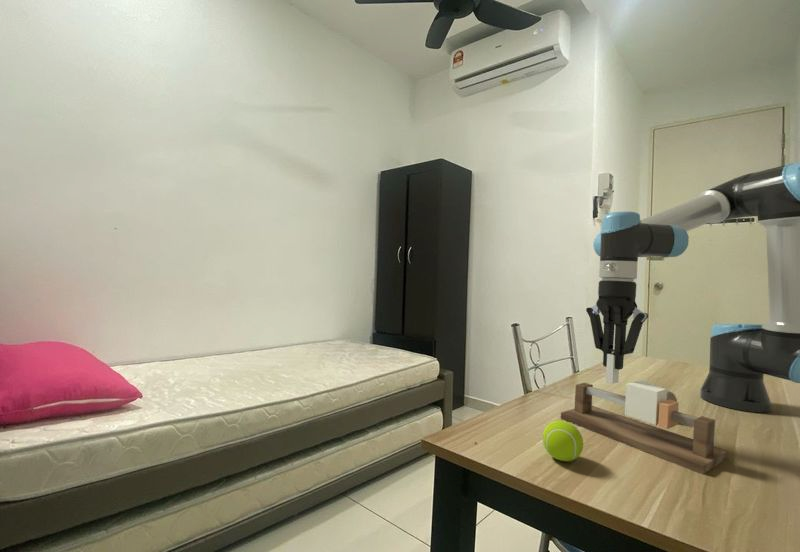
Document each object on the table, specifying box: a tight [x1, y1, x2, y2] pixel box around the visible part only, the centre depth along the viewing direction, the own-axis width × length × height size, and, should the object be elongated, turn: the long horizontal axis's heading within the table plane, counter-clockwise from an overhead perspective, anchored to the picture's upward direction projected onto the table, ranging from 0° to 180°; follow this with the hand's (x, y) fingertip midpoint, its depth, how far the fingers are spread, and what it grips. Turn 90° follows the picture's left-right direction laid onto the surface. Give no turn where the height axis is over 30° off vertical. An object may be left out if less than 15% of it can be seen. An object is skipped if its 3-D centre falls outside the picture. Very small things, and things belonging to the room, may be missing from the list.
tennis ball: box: [542, 420, 584, 462], centre depth 70 cm, size 7×7×7 cm
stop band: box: [657, 400, 679, 430], centre depth 76 cm, size 5×2×5 cm, turn 124°
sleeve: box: [624, 380, 668, 426], centre depth 80 cm, size 5×6×7 cm
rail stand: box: [560, 382, 728, 475], centre depth 81 cm, size 12×28×8 cm, turn 33°
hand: (612, 382), depth 86 cm, fingers closed
